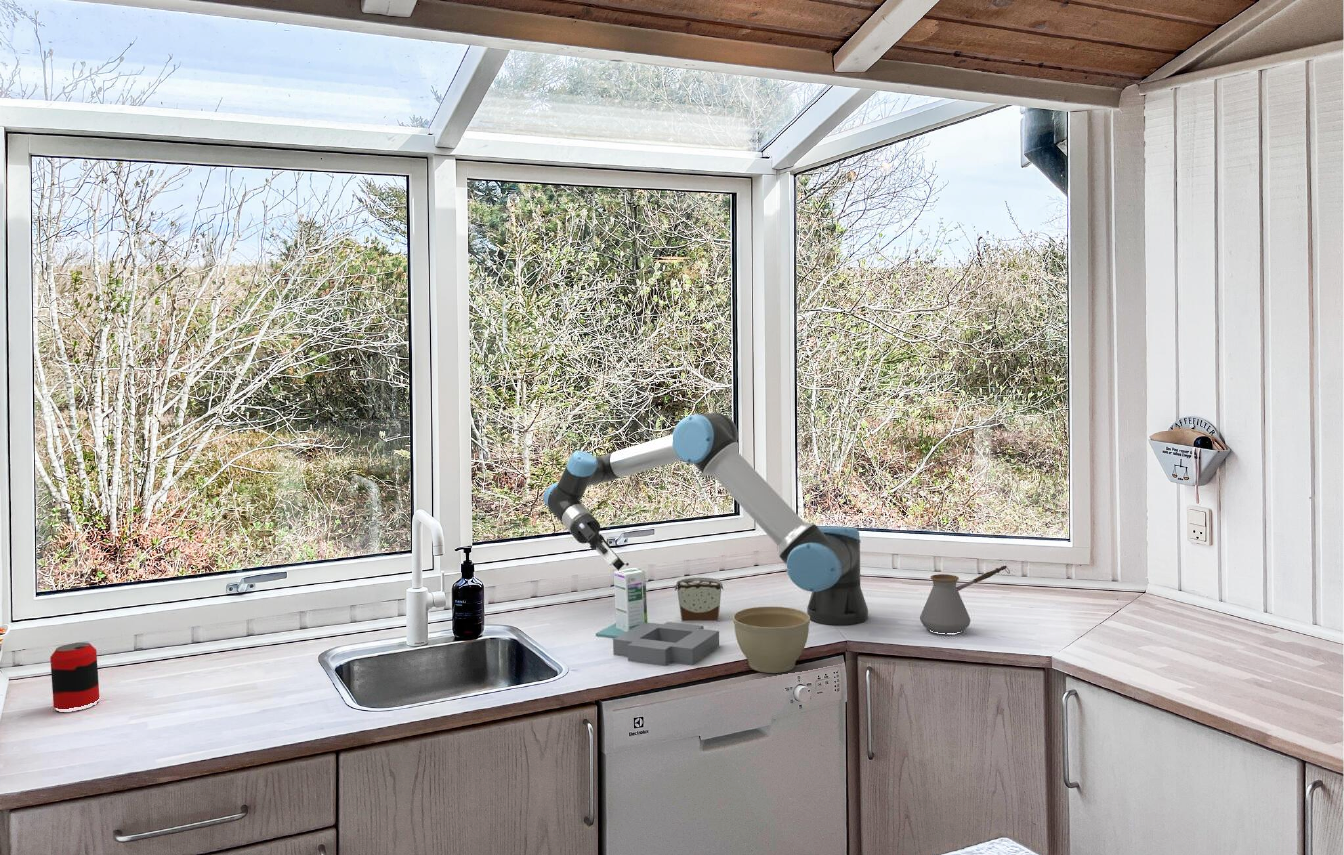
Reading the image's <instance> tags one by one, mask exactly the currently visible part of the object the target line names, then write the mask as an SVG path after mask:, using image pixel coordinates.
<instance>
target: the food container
mask: <svg viewBox="0 0 1344 855" xmlns="http://www.w3.org/2000/svg"><path fill="white" fill-rule="evenodd" d="M724 590H725V589H724V586H723V583H722V581H721V580H720V579H718V578H713V577H688V578H683V579H679V580H677V582H676V584H675V587H674V591H677V596H678V597H677V598H678V606H679V612H680V613H679V614H680V619H681V622H686V623H691V622H692V623H695V622H696V623H697V622H698V623H699V622H701V623H702V622H705V623H709V622H713V623H714V622H715V623H717V622H720V608H721V598H722V597H721V596H722V591H724Z"/></svg>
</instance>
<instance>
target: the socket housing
mask: <svg viewBox="0 0 1344 855" xmlns="http://www.w3.org/2000/svg"><path fill="white" fill-rule="evenodd" d="M652 623H653V622H648V623H642V624H640V625H638V626H636V627H634V628H633V629H631V630H629V631H627V632H625V633H623V634H622V635H620V636H618V637H616V638H612V645H613V647H612V648H613V655H614V656H621V655H623V656H622V657H627V661H628V662H634V661H635V663H643V664H649V665H656V664H657V666H664V665H666V666H667V665H669V664H670V663H676V664H683V665H689V666H693V665H695V664H696V663H698V662H699V661H700V660H702V659H703V658H704V657H706V656H708V655H709V654H710V653H712V652H713V651H714V650H716V649H718V648H719V647H720V630H715V629H714V630H713V629H705V628H704V625H700V624H693V623H692V624H690V623H681V622H672V621H666V622H665V623H657V624H652ZM661 624H663V625H661ZM651 663H652V664H651ZM668 663H669V664H668Z"/></svg>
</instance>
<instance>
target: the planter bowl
mask: <svg viewBox="0 0 1344 855" xmlns="http://www.w3.org/2000/svg"><path fill="white" fill-rule="evenodd" d="M732 621H733V624H734V633H735V638H736V641H737V644H738V647H739V648H740V651H741V652H742V654H743V655H744V657H745V658H746V659H747V660H748V664H749V667H750V668H751V669H752V670H754V671H756V672H760V673H768V674H778V673H779V674H780V673H786V672H789V671H792V670H793V669H794V668H795V666H796V662H797V660H798V659H799V657H800V656H801V655H802V653H803V652H804V649H805V647H806V644H807V641H808V637H809V631H810V630H809V629H810V622H811V620H810V616H809V615H808V614H807V612H806V611H803V610H800V609H797V608H791V607H787V606H786V607H784V606H771V605H770V606H757V607H755V606H754V607H749V608H743V609H741V610H738V611H736V612H735V613H734V614H733V615H732Z"/></svg>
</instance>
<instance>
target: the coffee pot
mask: <svg viewBox="0 0 1344 855" xmlns="http://www.w3.org/2000/svg"><path fill="white" fill-rule="evenodd" d="M1004 570H1005V572H1006V573H1007V574H1011V570H1010V569H1009V568H1008V566H1007V565H1002V566H1000V567H996V568H995V569H994V570H991V571H987V572H985V573H983V574H982V575H979V576H977V577H975V578H974V579H972V580H969V581H968V582H965V583H963V584H961V585H957V582H958V581H959V579H960V577H959V576H957V575H954V574H948V573H947V574H946V573H945V574H943V573H942V574H933V575H930V579H931V581H932V585H933V586H932V587H931V590H930V592H929V594H928V598H927V599H926V602H925V604H924V606H923V609H922V611H921V614H920V616H919V620H920V623H921V624H922V625H923V627H924V628H926V629H927V630H928V629H929V630H931V631H933V632H938V633H945V634H947V633H957V632H961V631H962V632H963V631H965V630H967V628H969V626H970V624H971V618H970V614H969V613H968V609H967V608H966V606H965V604H964V601H963V600H962V597H961V595H960V592H959V591H961V590H963V589H965V588H967V587H969V586H971V585H973V584H977V583H979V582H981V581H984V580H987V579H988V578H992V576H994V575H995V574H998V573H999V574H1000V573H1001V571H1004Z"/></svg>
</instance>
